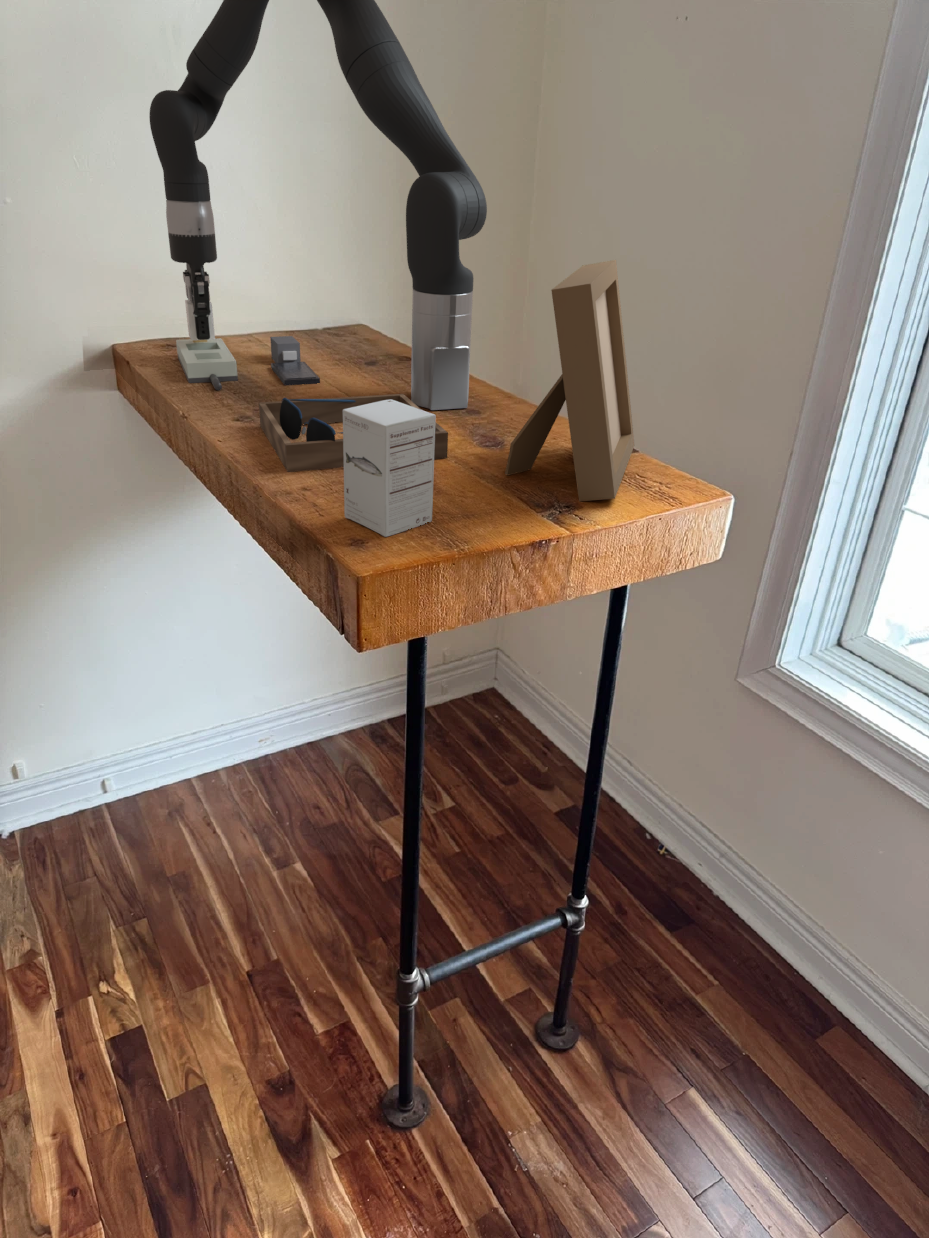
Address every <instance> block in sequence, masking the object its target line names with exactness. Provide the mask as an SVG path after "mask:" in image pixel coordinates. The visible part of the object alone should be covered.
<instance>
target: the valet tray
mask: <svg viewBox="0 0 929 1238" xmlns="http://www.w3.org/2000/svg"><path fill="white" fill-rule="evenodd" d="M325 399H341V400H354V401H356V402H315V401H291V402H292V403H293V404H294V405H296V406H297V407H298V408H299V409H300V411H301V414H302V419H301V420H302V424H304V423H305V422H307V423H308V421H309V420H310V419H311V418H316V419H318V420H321V421H323V422H325V423H328V424H336V423H335V422H342V423H343V410H344V409H347V408H351V407H356V406H360V405H365V404H369V403H374V402H378V401H383V400H389V399H392V400H395V401H398V402H401V403H403V404H406V405H409V406H412V407H415V408H417V409H420V410H422V409H421V408H420V406H418V405H415V404H414V403H413V402H412V401H411V398H409V397H408V396H407V395H405V394H404V393H393V394H377V395H376V394H375V395H363V396H362V395H360V396H346V397H345V396H344V397H343V396H342V397H331V398H330V397H329V398H325ZM281 403H282V400H280V401H278V400H277V401H264V402H258V411H259V425H260V428H261V430H262V432H263V433H264V435H265V437H266V438H267V441H269V443H270V445H271V447H272V448H273V450H274V451H275V453H276V455H277V457H278V458H279V460H280V462H281V463H282V465H283V467H284V468H285V470H286V472H287V473H290V472H293V473H294V472H302V471H303V472H304V471H313V470H315V471H316V470H325V469H337V468H344V456H343V438H338V439H337V438H335V441H332V440H322V441H309V442H306V441H298V442H291V439H290V438H288V437H287V436H286V434H285V433H284V431H283V430H282V428H281V424H280V407H281ZM312 420H313V419H312ZM309 422H310V421H309ZM307 423H306V424H307ZM448 446H449V432H448V431H446V429H444V428H443V427H442V426H441V425H440V424H438V423H437V421H435V448H434V460H438V459H439V460H441V459H448V452H449V451H448V449H449V448H448Z"/></svg>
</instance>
